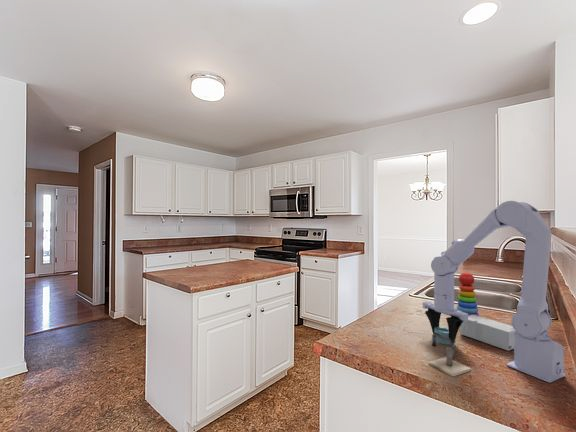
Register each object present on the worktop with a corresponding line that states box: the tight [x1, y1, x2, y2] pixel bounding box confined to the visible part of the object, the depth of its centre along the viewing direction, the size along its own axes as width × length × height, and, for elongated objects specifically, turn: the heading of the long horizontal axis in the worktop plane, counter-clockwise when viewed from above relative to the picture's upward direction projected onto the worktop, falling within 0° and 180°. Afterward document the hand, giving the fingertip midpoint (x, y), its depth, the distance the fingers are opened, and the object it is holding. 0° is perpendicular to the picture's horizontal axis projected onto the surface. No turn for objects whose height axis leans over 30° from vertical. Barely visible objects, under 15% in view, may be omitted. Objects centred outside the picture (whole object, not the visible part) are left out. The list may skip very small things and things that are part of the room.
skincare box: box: [459, 315, 514, 352], centre depth 95 cm, size 8×6×15 cm
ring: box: [434, 326, 450, 345], centre depth 95 cm, size 5×5×4 cm
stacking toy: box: [456, 272, 480, 317], centre depth 113 cm, size 8×8×19 cm
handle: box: [431, 332, 456, 361], centre depth 86 cm, size 10×6×4 cm, turn 27°
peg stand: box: [428, 346, 472, 377], centre depth 78 cm, size 7×7×5 cm
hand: (443, 336), depth 95 cm, fingers closed on ring, 5 cm apart
